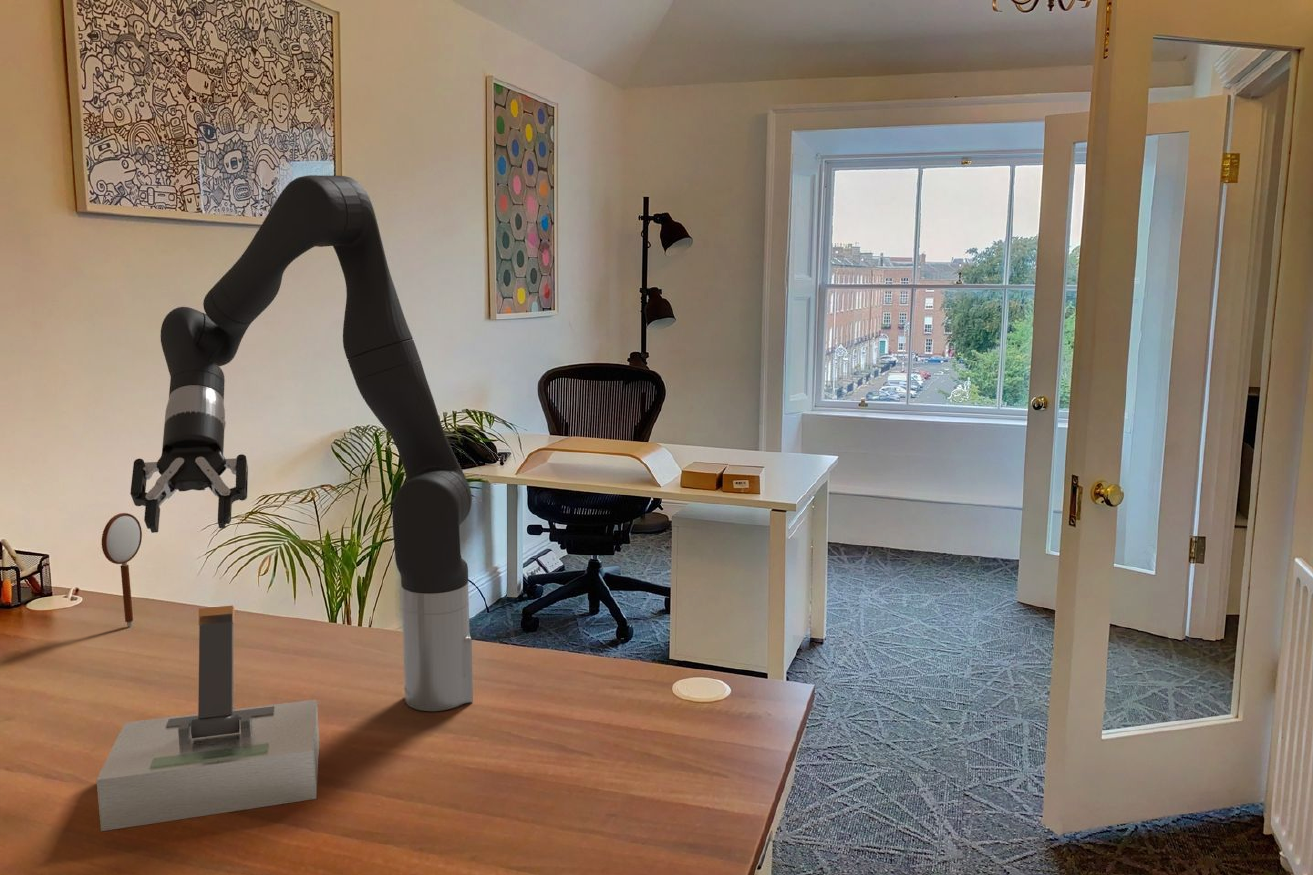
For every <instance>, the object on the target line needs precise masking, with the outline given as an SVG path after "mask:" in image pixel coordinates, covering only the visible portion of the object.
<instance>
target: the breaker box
mask: <svg viewBox="0 0 1313 875" xmlns="http://www.w3.org/2000/svg"><path fill="white" fill-rule="evenodd" d="M238 713H239V715H240V732H239V733H232V734H224V735H216V736H208V737H200V738H192V736H191V722H192V719H197V718H198V713H191V714H185V715H177V716H176V715H175V716H174V715H173V716H168V717H159V718H151V719H143V720H136V721H135V720H134V721H126V722H124V723H123V725H122V727H121V729H120V731H119V734H118V736H117V738H116V739H115V742H114V744H113V746H112V748H111V750H110V751H109V754H108V756H107V758H106V759H105V762H104V764H103V766H102V768H101V770H100V772H99V774H98V776H97V778H96V781H95V782H96V791H97V792H96V793H97V802H98V811H99V812H98V814H99V821H100V822H99V823H100V824H99V825H100V831H101V832H105V831H113V830H118V829H125V828H130V827H131V828H133V827H138V826H145V825H151V824H152V825H153V824H158V823H165V822H171V821H178V820H185V819H192V818H197V817H198V818H199V817H204V816H205V817H206V816H211V815H212V816H213V815H217V814H225V813H231V812H239V811H244V810H252V809H257V808H264V807H270V806H278V805H282V804H290V803H296V802H303V801H310V800H316V799H317V790H318V773H319V772H318V770H319V751H320V733H319V731H320V730H319V715H318V714H319V713H318V700H317V699H309V700H302V701H292V702H285V703H284V702H283V703H275V704H267V705H259V706H251V707H250V706H249V707H242V708H241V707H240V708H235V709H234V708H233V714H238Z"/></svg>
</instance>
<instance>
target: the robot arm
mask: <svg viewBox="0 0 1313 875" xmlns="http://www.w3.org/2000/svg"><path fill="white" fill-rule="evenodd" d="M315 247H319V248H322V247H333V249H334V252H335V253H336V255H337V258H338V261H339V264H340V267H341V270H342V273H343V277H344V282H345V287H346V289H345V290H346V291H345V292H346V297H345V298H346V301H345V309H344V318H343V327H342V345H343V351H344V355H345V357H346V359H347V362H348V365H349V367H350V371H351V374H352V376H353V378H354V381H355V385H356V386H357V389H358V391H359V394H360V395H361V397H362V399H363V400H364V402H365V403H366V406H368V408H369V409H370V410H371V412H372V413H373V415H374V416H375V417H376V419H377V420H378V421H379V423H380V424H381V425H382V426H383V427H384V429H385V431H386V432H387V433H388V434H389V435H390V438H391V440H392V441H393V442H394V445H395V447H396V449H397V452H398V454H399V457H400V461H401V463H402V467H403V470H404V474H405V477H406V481H405V483H403V484H402V485H401V486H400V487H399V489H398V490H397V492H396V493H395V496H394V499H393V503H392V533H393V545H394V546H393V547H394V548H393V549H394V559H395V565H396V567H397V568H396V569H397V571H398V572H399V574H400V583H401V586H400V587H401V609H402V611H401V612H402V639H403V640H402V641H403V668H404V672H403V673H404V696H405V697H404V698H405V699H404V700H405V703H406V705H407V706H408V707H410V708H412V709H415V710H418V711H423V712H425V711H426V712H441V711H446V710H451V709H455V708H457V707H460V706H462V705H464V704H468V703H473V702H474V686H473V685H474V683H473V680H474V679H473V676H474V673H473V641H472V640H473V639H472V637H471V633H470V603H469V602H470V599H469V594H470V593H469V567H468V563H467V562H466V560H465V559H463V557H462V555H461V554H462V553H461V537H460V533H461V532H460V525H461V524H462V523H463V522H464V521H465V520H466V519H467V517H468V516H469V514H470V512H471V508H472V501H473V498H472V496H473V495H472V491H471V490H472V489H471V488H470V485H469V482H468V480H467V477H466V476H465V474H464V471H463V469H462V468H461V465H460V463H459V461H458V459H457V457H456V455H455V452H454V451H453V448H452V446H451V444H450V442H449V439H448V437H447V435H446V433H445V431H444V427H443V425H442V421H441V418H440V415H439V413H438V409H437V406H436V404H435V400H434V397H433V394H432V391H431V388H430V385H429V382H428V380H427V377H426V373H425V370H424V367H423V364H422V360H421V357H420V355H419V351H418V349H417V346H416V343H415V340H414V338H413V335H412V332H411V330H410V328H409V325H408V323H407V320H406V318H405V315H404V312H403V308H402V305H401V302H400V299H399V297H398V292H397V290H396V287H395V285H394V280H393V279H392V275H391V272H390V268H389V264H388V262H387V257H386V253H385V249H384V244H383V241H382V237H381V233H380V229H379V225H378V221H377V217H376V212H375V209H374V206H373V204H372V201H371V198H370V196H369V195H368V192H367V191H366V190H365V189H364V186H362V185H361V184H360V183H359V182H358V181H357V180H356V179H354V178H352V177H349V176H345V175H316V174H313V175H303V176H299V177H296V178H294V179H293V180H292V181H290V182H289V183H288V184H287V185H286V186H285V187H284V189H282V191H281V193H280V194H279V195H278V196H277V199H276V200H275V202H274V203H273V205H272V206H271V209H270V210H269V212H268V213H267V215H266V217H265V218H264V220H263V222H262V224H261V225H260V226H259V228H258V230H257V232H256V233H255V235H254V236H253V238H252V239H251V241H250V243H249V244H248V246H247V248H245V250H244V252H242V254H241V256H240V257H239V258H238V259H237V261H236V262H235V263H234V264H233V265H232V267H230V269H228V271H226V272H225V274H223V275H222V277H221V278H220V279H219V280H218V281H217V282H216V283H215V284H214V286H213V287H212V288H210V290H208V292H207V294H205V295H204V296H205V297H204V299H203V302H202V305H203V309H204V312H201V311H199V310H198V309H196V308H192V307H188V306H178V307H176V308H173V309H172V310H170V312H169V313H167V314H166V316H165V317H164V319H163V321H162V324H161V327H160V343H161V344H160V345H161V348H162V353H163V355H164V359H165V363H166V366H167V369H168V372H169V377H170V381H169V382H170V383H169V392H168V399H167V400H168V401H167V404H166V409H165V415H164V424H163V425H164V427H163V434H162V435H163V438H162V447H161V448H162V450H161V455H160V457H159V459H157V461H150V462H147V461H146V462H145V461H144V459H143V458H136V459H134V460H133V468H132V475H131V476H132V477H131V484H130V493H129V494H130V496H131V499H132V501H133V505H134V506H136V507H141V506H143V507H145V508H144V517H143V518H144V519H143V520H144V524H145V526H146V529H148V530H149V531H150V532H151V534H152V533H159V529H160V528H159V526H160V515H161V508H160V507H161V506H162V504H163V503H164V502H165V500H168V499H170V498H171V497H172V496H173V495H174V494H175V492H177V491H179V492H187V491H192V490H193V491H205V490H206V489H208V488H209V490H210V491H211V492H212V493H213V495H214V496H216V497H217V498H218V503H217V504H218V505H217V507H218V508H217V524H218V525H217V526H218V528H219V529H226V527H227V526H226V525H229V524H230V523H231V522H232V506H233V504H234V502H237V501H246V500H247V499H248V488H249V487H248V483H249V482H248V481H249V480H248V479H249V476H248V475H249V466H248V460H247V456H246V454H238V455H237V456H236V458H226V457H225V456H224V449H225V448H224V447H225V446H224V445H225V444H224V442H225V430H226V429H225V428H226V422H227V421H226V410H225V405H224V404H225V403H224V401H225V374H224V372H223V370H222V368H221V367H222V366H225V365H227V364H230V363H231V362H232V361H233V360H234V358H235V357H236V354H237V352H238V350H239V348H240V345H241V342H242V339H243V338H244V335H245V334H246V332H247V330H248V328H249V327H250V326H251V324H252V323H253V322H254V321H255V320H256V319H257V318H258V317H259V316H260V315H261V314H262V313H263V312H264V311H265V310H266V309H267V308H268V307H269V306H270V304H272V302H273V301H274V300H275V298H276V297H277V295H278V294H279V291H280V288H281V285H282V280H283V276H284V273H285V271H286V269H287V268H288V267H289V265H291V263H292V262H293V261H295V260H296V259H298V258H299V257H300V256H302V255H303V254H305V253H306V252H308V251H310V250H311V249H312V248H315ZM226 469H229V470H230V471H231V473H232V474H233V475H235V486H234V487H231V488H229V486H227V485H226V484H225V482H224V480H222V477H221V475H222V474H223V473H224V472H225V471H226ZM156 472H158V473H159V475H160V476H159V477H158V478H157V479H156V481H155V484H154V486H152V487H151V489H149V491H148V492H146V489H147V488H146V487H147V481H148V480H150V479H151V478H152V477H153V475H154V474H155V473H156Z"/></svg>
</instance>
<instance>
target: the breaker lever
mask: <svg viewBox="0 0 1313 875" xmlns="http://www.w3.org/2000/svg"><path fill="white" fill-rule="evenodd" d="M234 624H235V606H234V605H224V606H214V607H202V608H201V607H200V608H198V626H199V632H198V633H199V634H198V640H199V642H198V643H199V644H198V706H197V707H198V708H197V709H198V713H197V714H198V718H197V719H192V722H191V736H192V738H200V737H208V736H216V735H224V734H232V733H239V732H240V715H239V713H238V714H233V709H234Z"/></svg>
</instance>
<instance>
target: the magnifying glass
mask: <svg viewBox="0 0 1313 875" xmlns="http://www.w3.org/2000/svg"><path fill="white" fill-rule="evenodd" d="M101 534H102V535H101V549H102V553H103V555H104V557H105V558H106V560H108V561H109V562H111V563H113V564H116V565H120V574H121V586H122V597H123V598H122V599H123V600H122V601H123V608H124V610H123V611H124V620H125V621H124V622H125V623H126V626H127V627H132V625H133V621H134V616H133V614H134V613H133V605H132V604H133V601H132V589H131V581H130V580H131V579H130V578H131V577H130V567H129V564H128V563H129V562H130V561H131V560H133V558H134V557H136V556H137V554H138V552H139V549H140V547H141V544H142V540H143V539H142V538H143V537H142V536H143V531H142V526H141V524H140V521H139V519H138V518H137V517H135V515H133V514H131V513H127V512H123V513H122V512H121V513H118V514H116V515H113V517H111V518H110V519H109V520H108V521H107V523H106V524H105V527H104V528H103V531H102V533H101Z"/></svg>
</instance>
